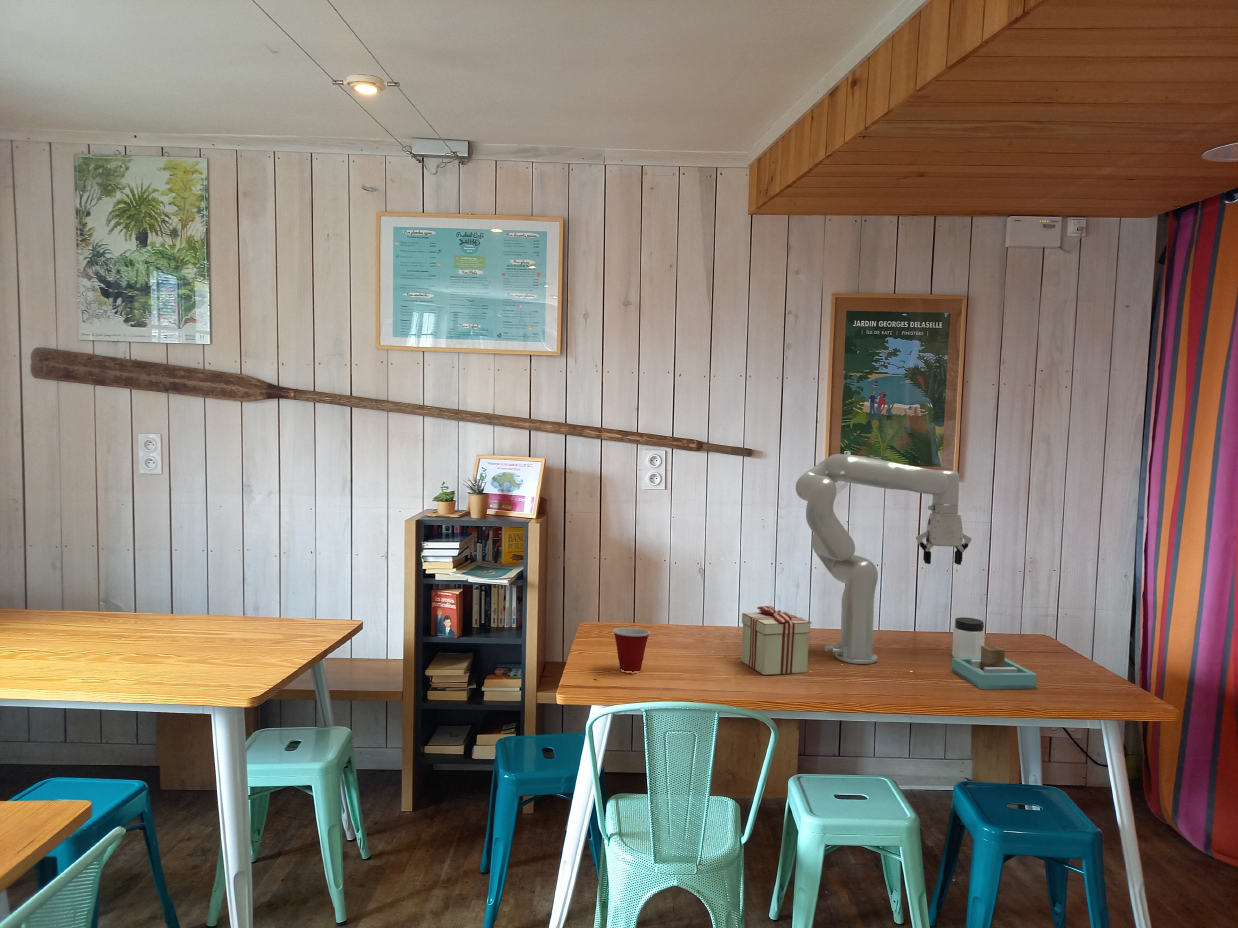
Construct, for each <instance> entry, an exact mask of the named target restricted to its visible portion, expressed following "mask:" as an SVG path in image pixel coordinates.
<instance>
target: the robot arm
mask: <svg viewBox="0 0 1238 928" xmlns="http://www.w3.org/2000/svg"><path fill="white" fill-rule="evenodd" d="M838 482H844V483H849V484H856V485H863V486H868V487H874V488H878V489H879V488H880V489H886V490H898V491H899V490H900V491H909V492H914V493H918V494H926V495H931V496H932V502H931V504H930V505H928V506H927V510H928V511H931V513H929V516H928V519H927V525H926V531H924V532H923V533H921V534H920V533H919V535H917V536H915V539H916V541H917V543H918V545H919V547H920V548H921V550H923V555H922V557H923V558H922V559H923V561H924V564H927V565H931V564H932V551H931V549H932V548H933V547H953V548H954V549H956V550H954V560H953V561H954V564H956V565H958V566H961V565H962V562H963V553H964V552H965V550H966V549H968V547H969V545H970V544H971V541H972V538H971V537H970V536H968V535H966V534H965V533H963V530H964V529H963V523H962V522H963V521H962V516H961V514H959V494H960V493H959V491H960V490H959V489H960V473H959V472H958V471H956V470H948V469H947V470H945V469H944V470H942V469H941V470H937V469H930V468H925V467H919V466H913V465H906V464H903V463H899V462H894V461H888V460H884V459H878V458H877V459H876V458H872V457H866V456H860V455H855V454H848V453H847V454H843V453H836V454H831V455H830V456H828V457H827V458H825V459H823V460H822V461H821V462H819V463H818V464H816V465H815V466H813V467H812V468H809V470H807V471H805V472H804V473H803V474H802V475H801V476H800V477H798V479H797V480H796V483H795V492H796V495H797V496H798V497H799V499H801V500H803V501H806V508H805V518H806V519H805V520H806V522H807V525H808V527H809V529H810V530H811V532H812V534H813V535H811V536H812V537H811V546H812V549H813V552H814V553H815V554H816V556H817V557H818V559H819V560H820V562H821V563H822V564H823V565H824V567H825V568H826V570H827V571H828V572H829V573H830V575H831V576H832V577H833V578H834V579H836V580H837V582H838V581H839V582H841V583H842V584H845V587H844V588H843V589H844V590H843V592H842V598H841V613H840V614H841V616H840V617H841V619H840V620H841V621H840V622H841V624H840V641H837V643H836V644H834V645H832V644H831V645H830V644H825V645H824V651H825V652H831V654H834V657H835V658H836V659H837V660H839V661H841V662H845V663H848V664H849V663H850V664H856V665H857V664H858V665H869V664H871V665H872V664H874V663H876V662H877V661H878V655H876V654H875V653H874V652H873V646H874V645H873V642H874V639H873V638H874V614H875V613H874V612H875V610H874V609H875V593H876V590H877V586H878V585H877V584H878V578H879V571H878V569H877V567H876V564H874V562H872V561H871V560H870V559H868V558H866V557H864V556H859V555H856V554H855V552H856V544H855V541H854V539H853V537H852V536H851V535H850V534H849V532H848V531H847V530H846V529H845V527H844V526H843V524H842V523H841V521H840V520H839V518H838V517H837V515H836V513H835V509H834V505H835V504H834V503H835V500H836V496H837V492H838V490H837V485H836V483H838ZM923 539H925V542H924V541H923Z"/></svg>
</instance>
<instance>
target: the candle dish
mask: <svg viewBox="0 0 1238 928" xmlns="http://www.w3.org/2000/svg"><path fill="white" fill-rule="evenodd" d="M980 665H981V658H955V657H951V672H952V673H954V674H955V675H957V676H959V677H960V678H962V679H963V680H965V681H967V682H968V683H970V684H972V685H974V686H975V687H977V688H978V689H980V690H1036V689H1037V687H1038V685H1037V684H1038V683H1037V682H1038V681H1037V679H1038V674H1037V673H1036V672H1033V671H1031V670H1029V669H1027V668H1025V667H1023V666H1021V665H1020V664H1017V663H1016V662H1013V661H1012V660H1010V659H1007V658H1006V657H1005V662H1004V667H984V671H982V670H981V669H980Z"/></svg>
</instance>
